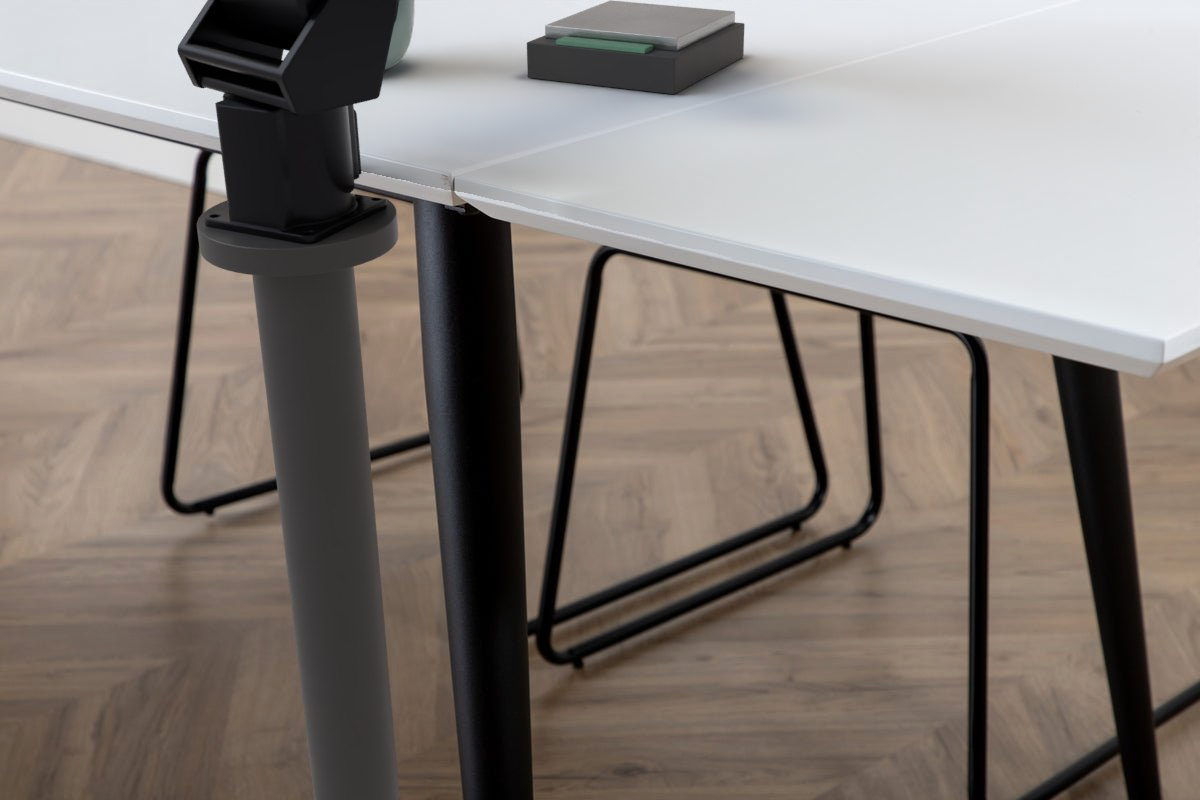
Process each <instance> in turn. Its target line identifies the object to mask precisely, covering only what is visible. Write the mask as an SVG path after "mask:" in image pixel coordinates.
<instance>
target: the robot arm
mask: <svg viewBox="0 0 1200 800" xmlns="http://www.w3.org/2000/svg"><path fill="white" fill-rule="evenodd" d="M400 1H401V0H206V2H205V4H204V5H203V6H202V8H201V10H200V12H199V13H198V14H197V16H196V17H195V19H194V21H192V24H191V25H190V27H189V28H188V30H187V31H186V33H185V34H184V36H183V37H182V39H181V41H180V42H179V44H178V45H177V50H176V51H177V54H178V57H179V58H180V61H181V63H182V65H183V67H184V69H185V71H186V73H187V76H188V77H189V80H190V82H191V84H192V85H193V86H194V87H196V88H200V89H210V90H213V91H217V92H220V93H223V94H222V100H220V101H217V102H215V103H214V104H215V112H216V120H217V121H216V122H217V128H218V136H219V145H220V153H221V161H222V168H223V169H222V170H223V176H224V177H223V178H224V184H225V193H226V201H227V202H228V206H226V207H223V208H221V209H219V210H216V211H214V212H212V213H209V214H207V215H205V216H204V220H205V226H207V227H211V228H216V229H222V230H227V231H233V232H238V233H244V234H249V235H255V236H260V237H266V238H271V239H277V240H282V241H288V242H293V243H299V244H315V243H317V242H319V241H321V240H323V239H325V238H327V237H329V236H331V235H333V234H335V233H337V232H339V231H341V230H343V229H345V228H347V227H349V226H351V225H353V224H355V223H357V222H359V221H361V220H363V219H365V218H367V217H369V216H371V215H373V214H375V213H377V212H379V211H381V210H383V209H385V208H387V199H388V198H383V197H375V196H369V195H363V194H356V193H352V192H354V189H355V181H356V180H357V179H359V178H360V175H362V173H363V172H362V164H361V162H362V161H361V150H360V138H359V137H360V136H359V127H358V125H359V124H358V114H357V111H356V109H355V106H354V105H357V104H360V103H364V102H368V101H373V100H376V99H378V98H379V97H380V95H381V92H382V91H381V90H382V86H383V82H384V81H383V80H384V76H385V71H386V70H385V67H386V62H387V57H388V52H389V47H390V42H391V37H392V32H393V27H394V24H395V22H396V19H397V13H398V6H399V2H400ZM284 51H287V54H286V55H285V57H284V58H283V55H284Z"/></svg>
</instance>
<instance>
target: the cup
mask: <svg viewBox="0 0 1200 800" xmlns="http://www.w3.org/2000/svg"><path fill="white" fill-rule="evenodd" d="M415 7H416V0H401V1H400V2H399V6H398V13H397V19H396V22H395V24H394V27H393V32H392V37H391V42H390V47H389V52H388V57H387V62H386V67H385V71H387V70H389V69H391V68H393V67H395V66H396V65H397V64H398V63H399V62H401V61H402V60H403V58H404V57H405V56H406V54H407V51H408V49H409V47H410V45H411V41H412V37H413V31H414V25H415V12H416V11H415V10H416V8H415Z"/></svg>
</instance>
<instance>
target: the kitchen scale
mask: <svg viewBox="0 0 1200 800" xmlns="http://www.w3.org/2000/svg"><path fill="white" fill-rule="evenodd" d="M735 21H736V11H734V10H726V9H725V10H723V9H715V8H714V9H712V8H704V7H703V8H702V7H692V6H691V7H690V6H679V5H667V4H656V3H646V2H645V3H644V2H634V1H633V2H632V1H621V0H608V1H604V2H603V3H600V4H597V5H595V6H592V7H590V8H586V9H584V10H582V11H579V12H577V13H574V14H570V15H569V16H566V17H563V18H560V19H558V20H556V21H552V22H550V23H548V24H545V25H544V35H542V36H540V37H536V38H534V39H532V40H530V41H527V42H526V61H527V63H526V64H527V65H526V66H527V77H528V78H530V79H537V80H545V81H555V82H565V83H571V84H572V83H573V84H580V85H589V86H598V87H608V88H615V89H623V90H624V89H625V90H632V91H641V92H651V93H659V94H666V95H676V94H677V93H679V92H681V91H683V90H684V89H686V88H688V87H690V86H692V85H694V84H696V83H697V82H699V81H702V80H703V79H705V78H707V77H709V76H710V75H713V74H714V73H717V72H718V71H720V70H722V69H723V68H726V67H727V66H729V65H731V64H733V63H735V62H736V61H738V60H740V59H742V58H743V57H744V53H745V51H744V49H745V22H735Z"/></svg>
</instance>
